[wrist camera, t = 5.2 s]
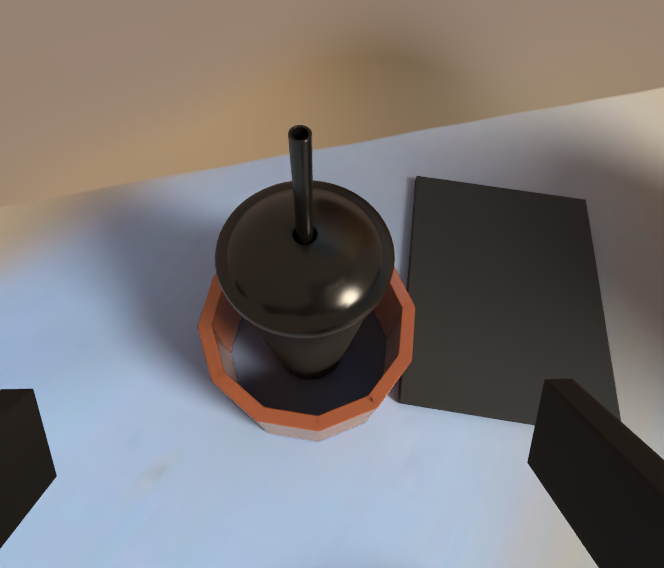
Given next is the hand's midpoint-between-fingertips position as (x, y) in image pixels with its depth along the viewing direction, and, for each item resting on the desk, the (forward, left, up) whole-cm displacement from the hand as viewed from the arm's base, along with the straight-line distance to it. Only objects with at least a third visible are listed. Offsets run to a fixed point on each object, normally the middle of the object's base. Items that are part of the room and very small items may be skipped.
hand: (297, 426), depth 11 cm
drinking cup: (+1, -7, -17) cm, 19 cm away
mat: (-13, -14, -17) cm, 26 cm away
